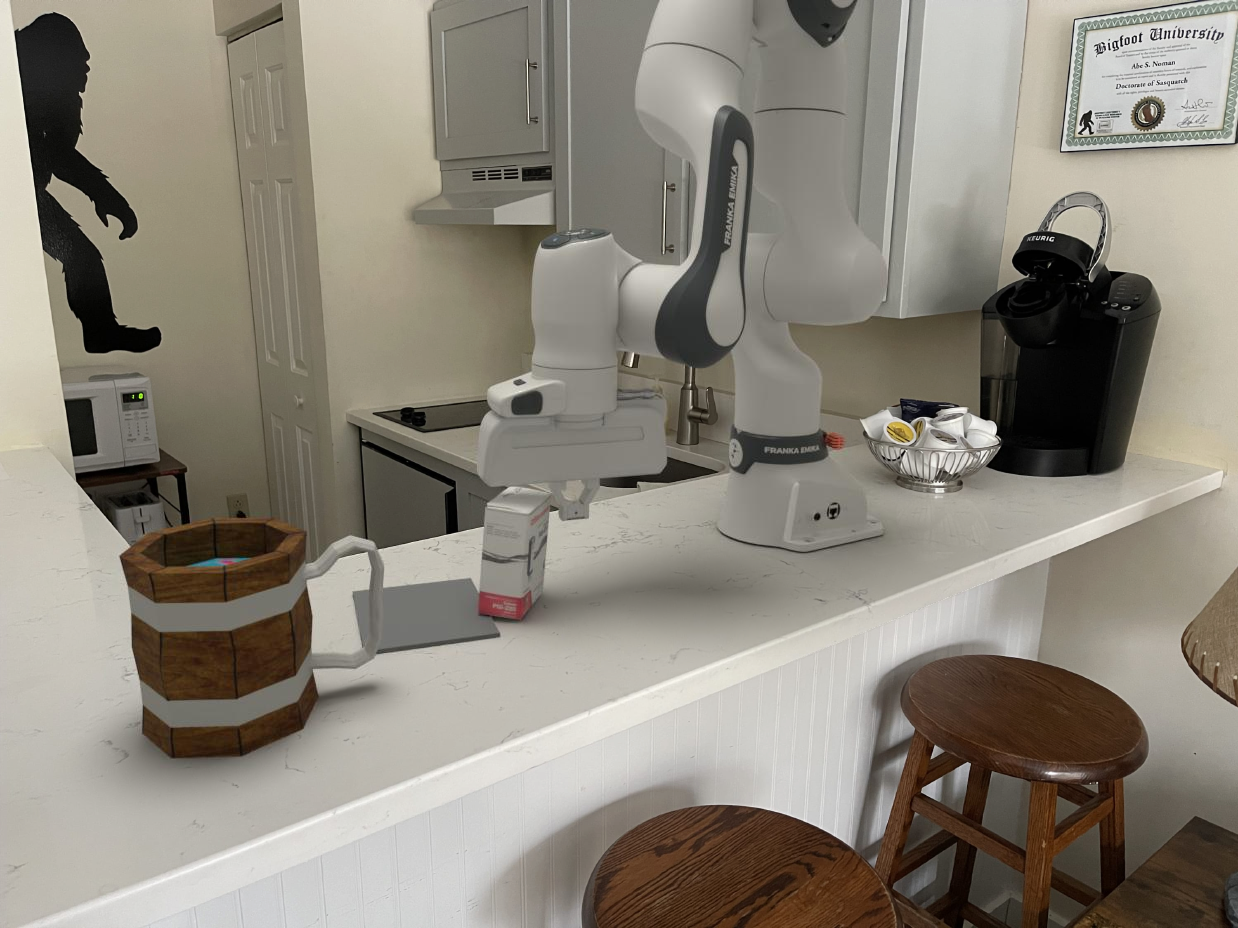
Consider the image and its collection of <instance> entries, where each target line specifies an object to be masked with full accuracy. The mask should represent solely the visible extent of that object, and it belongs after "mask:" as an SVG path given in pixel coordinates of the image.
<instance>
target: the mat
mask: <svg viewBox="0 0 1238 928" xmlns="http://www.w3.org/2000/svg"><path fill="white" fill-rule="evenodd" d="M352 597H353V603H354V607H355V613H356V617H357V618H356V619H357V624H358V629H359V634H360V639H361V644H362V648H363V647H364V646H365V643H366V641H367V638H368V635H369V632H370V616H369V589H362V590H354V591H352ZM382 602H383V634H382V641H381V643H380V646H379V648H378V650H377V652H376V655H377V654H382V653H383V654H384V653H391V652H398V651H405V650H412V649H421V648H426V647H428V648H429V647H434V646H440V645H441V646H442V645H448V644H456V643H463V642H471V641H478V640H484V639H493V638H500V637H501V632H500V631H499V630H500V629H498V627H497V624H496V623H495V621H494V619H493V618H492V615H486V614H479V613H478V602H479V591H478V589H477V587H476V585H475V583H474V581H473V579H472V577H466V578H458V579H450V580H441V581H440V580H439V581H431V582H424V583H415V584H406V585H397V586H395V585H394V586H387V587H383V593H382Z"/></svg>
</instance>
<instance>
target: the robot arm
mask: <svg viewBox="0 0 1238 928" xmlns="http://www.w3.org/2000/svg"><path fill="white" fill-rule="evenodd" d="M858 1H859V0H659V1H658V3H657V6H656V9H655V11H654V14H653V17H652V20H651V22H650V23H651V24H650V26H649V29H648V32H647V37H646V40H645V44H644V48H643V50H642V51H643V52H642V56H641V60H640V65H639V69H638V72H637V77H636V83H635V92H634V108H635V112H636V116H637V118H638V120H639V123H640V125H641V126H642V128H643V130H644V131H645V133H646V134H647V135H648V136H649V137H650V138H651V139H652V140H653V142H655V143H656V144H658V145H659V146H660V147H661V148H664V150H667V151H668V152H670V153H671V154H673V155H676V156H678V157H679V158H681V159H683V160H685V161H687V162H688V163H689V164H690V165H691V167H692V168H693V170H694V173H695V177H696V178H695V179H696V190H695V191H696V192H695V203H694V209H693V210H694V211H693V212H694V213H693V222H692V232H691V241H690V243H691V244H690V249H689V250H690V251H689V254H688V256H687V258H686V259H685V260H684V261H683V262H682V263H681V264H680V265H674V264H673V265H672V264H660V263H659V264H658V263H657V264H656V263H652V262H643V260H642V259H639V258H637V257H635V256H633V255H632V254H630V253H628V252H627V251H626V250H624V249H623V248H622V247H621V246H620V245H619V244H618V243H617V242H616V241H615V238H614V236H613V233H612V232H611V231H609V230H607V229H602V228H592V227H591V228H580V229H568V230H563V231H558V232H555V233H552V234H550V235H548V236H547V237H545V238H544V239H543V240H541V242H540V243H539V245H538V248H537V250H536V252H535V258H534V262H533V269H532V279H531V302H530V303H531V304H530V305H531V309H530V310H531V312H530V313H531V314H530V315H531V316H530V317H531V324H532V327H533V330H534V336H535V337H534V339H535V340H534V341H535V343H534V349H533V352H532V356H531V371H529V372H526V373H524V374H522V375H519V376H517V377H514V378H511V379H508V380H506V381H502V382H499V383H496V384H494V385H492V386H490V387H489V388H488V389H487V391H486V400H487V401H486V402H487V405H488V406H489V407H490V409H491V410H489V411H488V412H487V413H485V415H484V417H483V418H482V420H481V423H480V426H479V427H480V428H479V432H478V433H479V434H478V439H477V449H476V450H477V451H476V470H477V475H478V477H479V478H480V479H481V480H482V481H483V482H484V483H485V484H486V485H487V486H488V487H491V488H496V487H512V486H520V485H522V486H524V485H531V484H532V485H533V484H534V485H535V484H546V483H547V485H548V486H547V487H548V488H549V490H550V491H551V492H550V493H551V494H552V495H553V496H554V498H555V500H556V502H558V509H557V511H558V513H557V514H558V518H559V519H560V520H561V522H567V521H573V520H574V521H577V520H585V519H586V520H588V519H589V517H590V504H591V503H592V502H593V500H594V498H595V496H596V495H597V493H598V491H599V490H600V482H601V480H600V479H608V478H620V477H621V478H622V477H623V478H624V477H635V476H646V475H658V474H659V475H660V474H661V472H663V470H664V468H665V467H667V463H668V449H667V448H668V447H667V436H666V430H665V429H666V428H665V423H666V421H667V417H668V403H667V400H666V399H667V398H665V396H664V395H663V393H661V392H659V391H656V390H655V388H652V387H644V388H640V389H638V388H637V389H636V388H618V371H619V369H618V363H619V362H618V360H619V359H618V356H617V352H618V351H622V352H627V353H632V354H635V355H639V356H645V357H653V358H658V359H663V360H668V361H670V362H674V363H677V364H680V365H684V366H687V367H691V368H694V369H698V370H699V369H706V368H709V367H712V366H714V365H715V364H717V363H718V362H720V361H721V360H722V359H724V358H725V357H726V356H727V355H728V354H729V353H731V357H732V361H733V367H734V384H735V385H734V386H735V387H734V388H735V390H734V401H735V402H734V421H733V422H734V423H733V424H731V427H730V435H729V447H728V461H729V462H728V464H729V465H728V466H729V475H728V482H727V487H726V492H725V497H724V500H723V504H722V507H721V511H720V514H719V516H718V519H717V521H716V528H717V529H718V530H719V531H720V532H721V533H722V534H724V535H726V536H728V537H730V538H733V539H735V540H737V541H742V542H746V543H749V544H755V545H760V546H761V545H762V546H769V547H778V548H782V549H787V550H791V551H795V552H800V553H801V552H802V553H803V552H811V551H816V550H820V549H825V548H830V547H834V546H838V545H839V546H840V545H843V544H847V543H853V542H857V541H860V540H865V539H869V538H875V537H879V536H882V535H884V526H883V524H882V523H881V521H880V520H879V519H877V517H875V516H873V515H872V514H870V513H868V503H867V494H866V491H865V489H864V486H863V484H862V483H861V482H860V481H858V479H857V478H855V477H854V476H853V475H852V474H850V473H849V472H848V471H847V470H846V469H845V468H844V467H842V466H841V465H840V464H838V462H836V461H835V459H833V458H831V457H830V456H829V455H830V453H829V450H828V447H829V448H831V449H833V450H835V451H840V450H842V449H843V448H844V446H845V445H846V444H845V443H846V441H845V440H846V438H844V436H843V435H841V434H837V433H836V432H833V431H832V432H829V433H828V432H826V431H824V430H823V429H821V427H820V415H821V404H822V393H823V392H822V390H823V375H822V372H821V369H820V368H819V366H818V364H817V363H816V362H815V360H814V359H812V358H811V357H810V356H809V355H807V354H806V353H804V352H803V351H801V350H800V349H799V347H798V346H797V345H796V343H795V341H794V340H793V339H792V338H793V337H792V336H791V333H790V328H789V323H791V324H800V325H801V324H802V325H815V326H826V327H829V326H830V327H832V326H842V325H849V324H856V323H857V324H858V323H862V322H865V321H867V320H868V319H869V318H870V317H872V316H873V315H874V314H875V313H876V311H877V310H878V309H879V308H880V306H881V304H882V303H883V301H884V298H885V296H886V293H887V289H888V283H889V273H888V267H887V262H886V260H885V258H884V256H883V254H882V252H881V250H880V249H879V248H878V247H877V245H876V244H874V243H873V242H872V241H871V240H870V239H869V238H868V237H867V236H866V235H865V234H864V233H863V231H862V230H861V229H860V228H859V226H858V224H857V223H856V221H855V220H854V218H853V216H852V214H851V212H850V209H849V206H848V204H847V203H848V202H847V199H846V196H845V190H844V185H843V184H844V182H843V158H844V157H843V155H844V138H845V127H846V113H847V101H848V98H847V97H848V67H847V66H848V65H847V54H846V52H847V51H846V44H845V37H844V35H843V33H844V31H845V30H846V27H847V24H848V22H849V20H850V18H851V17H852V15H853V12H854V10H855V9H856V5H857V3H858ZM750 47H757V50H758V53H759V57H760V61H761V62H760V67H759V71H758V76H757V82H756V89H755V90H756V91H755V96H754V107H753V117H752V124H751V122H750V120H749V119H748V117H747V116H746V115H745V114H743V113H742V107H741V97H742V86H743V81H744V77H745V73H746V68H747V64H748V63H747V62H748V58H749V51H750ZM753 186H754V188H755V190H756V191H757V192H758V193H760V194H761V195H762V196H763V197H765V198H766V199H767V200H769V201H770V202H773V203H774V204H775V205H777V207H778V209H779V211H780V213H781V215H782V218H783V226H784V233H770V232H769V233H767V232H766V233H764V232H749V223H750V216H751V215H750V212H751V205H752V204H751V201H752V192H753ZM655 396H657V397H655ZM569 481H573V482H574V481H581V484H582V485H583V486H584V487H583V490H582V492H581V493H580V495H579V497H578V499H573V500H572V499H571V500H567V499H566V497H565V496H564V494H563V493H562V492H565V491H566V490H567V482H569Z"/></svg>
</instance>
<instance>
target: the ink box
mask: <svg viewBox="0 0 1238 928" xmlns="http://www.w3.org/2000/svg"><path fill="white" fill-rule="evenodd" d="M551 501H552V492H548V491H543V490H539V489H534V488H529V487H528V488H527V487H521V486H507V488H506V489H504V490H503V491H501V492H500V493H498V494H497V495H496V496H495V497H493V498H492V499H491V500H489V501H488V502H487V503H486V507H485V508H484V521H483V522H484V523H483V533H482V534H483V535H482V548H481V549H482V551H481V561H480V562H481V565H480V576H479V588H478V589H479V591H478V592H479V602H478V613H479V614H486V615H491V617H492V616H493V617H499V618H507V619H512V620H519V621H520V620H521V619H522V618H523V617H524V616H525V614H526V613H527V612H528V611H529V609H530V608H531V607H532V606H533V605H534V604H535V602H536V601H537V600H538V598H539V597H540V596H541V595H542V594H543V592H544V582H545V572H546V557H547V549H548V548H547V546H548V535H549V534H548V533H549V523H550V511H551Z"/></svg>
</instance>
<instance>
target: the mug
mask: <svg viewBox="0 0 1238 928" xmlns="http://www.w3.org/2000/svg"><path fill="white" fill-rule="evenodd" d="M307 533H308V532H307V531H306V530H304V529H301V528H299V527H297V526H295V525H292V524H290V523H288V522H285V521H282V520H280V519H279V518H278V519H277V518H275V517H243V518H242V517H233V518H232V517H229V518H228V517H226V518H225V517H224V518H223V517H217V518H215V517H214V518H207V519H203V520H199V521H194V522H191V523H186V524H181V525H177V526H172V527H168V528H164V529H159V530H156V531H151V532H147V534H145V535H144V536H143V537H141V538H140V539H139V540H138V541H136V542H135V543H133V544H132V545H130V546H129V547H128V548H127V549H126V550H125V551H123V552H122V553H121V554H119V556H118V557H119V561H120V563H121V567H122V572H123V575H124V578H125V582H126V585H127V590H128V591H127V592H128V600H129V607H130V622H131V623H130V624H131V625H130V627H131V628H130V629H131V630H130V631H131V634H130V635H131V650H132V654H133V659H134V662H135V667H136V671H137V675H138V680H139V686H140V695H141V696H140V697H141V702H142V714H141V715H142V719H141V722H142V723H141V725H142V726H141V734H142V735H144V736H145V737H146V738H147V739H148V740H149V741H150V742H152V743H153V745H155V746H157V748H159V749H160V750H161V751H162V752H164V754H166V756H168V757H169V758H170V759H187V758H188V759H189V758H190V759H194V758H195V759H196V758H225V757H226V758H230V757H232V758H233V757H243V756H246V755H248V754H251V753H252V752H255V751H257V750H259V749H261V748H263V747H266V746H268V745H270V744H272V743H275V742H278V741H280V740H282V739H283V738H287V737H289V736H291V735H292V734H295V733H297V732H300V731H303V729H304V728H305V726H306V724H307V722H308V720H309V718H310V716H311V714H312V712H313V710H314V708H315V705H316V703H317V701H318V699H319V697H320V696H319V693H318V692H319V691H318V688H317V682H316V678H315V673H314V670H325V669H327V670H329V669H344V670H345V669H346V670H357V669H358V668H360V667H362V666H364V665H365V664H367V663H369V662H370V661H372V660H374V659H375V657H376V655H377V654H376V652H377V650H378V648H379V646H380V643H381V641H382V634H383V602H382V593H383V588H384V578H385V564H384V561H383V559H382V557H381V554H380V552H379V550H378V548H377V546H376V543H375V542H374V541H372V540H370V539H366V538H361V537H358V536H354V535H351V534H350V535H348V536H345V537H343V538H341V539H339V540H337V541H335V542H333V543H331V544H330V545H329V546H328V547H327V548H326V549H325V551H323V553H322V554H321V555H320V556H319V557H318V558H317V559H316V560H315V561H314V562H310V563H306V551H307V536H308V535H307ZM354 549H355V550H358V551H362V552H366V553H367V557H368V560H369V564H370V567H371V570H370V571H371V572H370V580H369V586H368V587H369V588H368V590H369V616H370V632H369V635H368V638H367V641H366V643H365V646H364V647H363V646H362V647H361V648H359V649H358V650H356V651H354V652H353V653H345V652H344V653H343V652H335V651H332V652H331V651H327V652H325V651H324V652H321V651H320V652H312V638H313V618H314V617H313V612H312V611H313V610H312V605H311V600H310V594H309V590H308V582H307V581H309V580H313V579H317V578H320V577H323V575H325V574H327V572H328V571H330V570H331V568H332V567H333V566H334V565H335V563H337V561H338V560H339V559H340V557H342V556H344V555H346V554H348V553H349V552H352V551H353V550H354Z"/></svg>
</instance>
